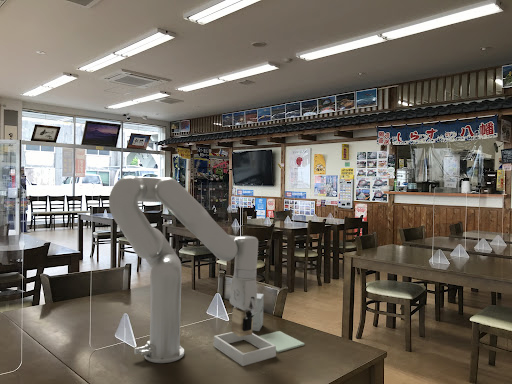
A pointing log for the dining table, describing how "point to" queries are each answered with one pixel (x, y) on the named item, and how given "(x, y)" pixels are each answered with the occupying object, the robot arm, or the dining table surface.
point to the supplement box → (258, 313)
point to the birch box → (239, 322)
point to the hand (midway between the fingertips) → (242, 326)
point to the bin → (243, 359)
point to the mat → (282, 341)
